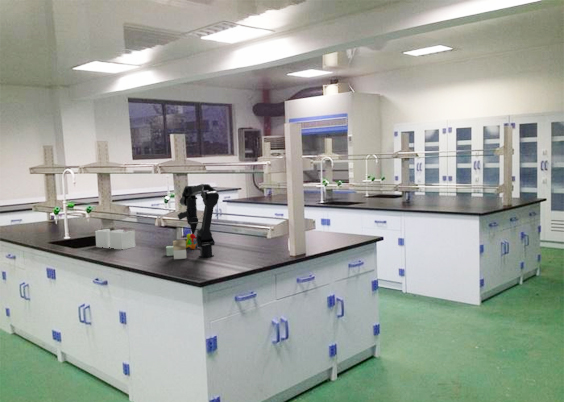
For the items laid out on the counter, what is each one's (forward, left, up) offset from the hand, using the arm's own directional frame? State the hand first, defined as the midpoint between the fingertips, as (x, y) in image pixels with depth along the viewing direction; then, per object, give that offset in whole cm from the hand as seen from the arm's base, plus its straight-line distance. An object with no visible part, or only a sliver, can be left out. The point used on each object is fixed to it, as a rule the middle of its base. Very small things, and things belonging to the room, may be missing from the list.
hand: (192, 232), depth 295 cm
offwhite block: (-6, +15, -12) cm, 20 cm away
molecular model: (+14, -10, -12) cm, 21 cm away
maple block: (-6, +15, -7) cm, 18 cm away
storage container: (+62, +14, -12) cm, 65 cm away
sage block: (+6, +11, -12) cm, 17 cm away
